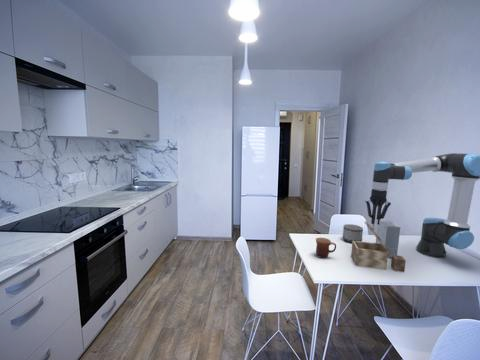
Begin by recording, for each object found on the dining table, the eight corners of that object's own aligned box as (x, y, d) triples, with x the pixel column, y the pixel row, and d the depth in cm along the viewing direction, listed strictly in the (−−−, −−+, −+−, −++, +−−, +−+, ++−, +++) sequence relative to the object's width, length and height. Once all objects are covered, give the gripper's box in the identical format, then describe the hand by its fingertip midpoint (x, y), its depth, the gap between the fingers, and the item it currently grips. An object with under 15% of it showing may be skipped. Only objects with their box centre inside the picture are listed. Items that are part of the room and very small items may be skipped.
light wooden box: (379, 259, 143) (381, 243, 142) (386, 269, 132) (388, 252, 130) (351, 256, 147) (352, 240, 145) (355, 265, 135) (357, 248, 134)
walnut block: (400, 267, 134) (401, 256, 133) (404, 272, 129) (405, 260, 128) (390, 266, 135) (392, 254, 134) (394, 270, 130) (395, 258, 129)
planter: (359, 238, 176) (360, 225, 175) (363, 245, 164) (365, 230, 162) (341, 236, 179) (342, 223, 177) (344, 243, 167) (345, 229, 165)
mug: (313, 257, 144) (314, 241, 143) (315, 251, 152) (316, 236, 151) (334, 261, 139) (336, 245, 138) (335, 255, 147) (336, 239, 146)
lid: (381, 243, 142) (382, 242, 141) (388, 251, 130) (390, 250, 130) (364, 222, 142) (365, 220, 142) (369, 228, 131) (371, 227, 130)
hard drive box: (397, 258, 145) (401, 227, 142) (383, 257, 146) (387, 226, 143) (387, 248, 160) (390, 219, 157) (374, 247, 161) (377, 218, 158)
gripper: (389, 189, 135) (384, 228, 138) (364, 187, 138) (360, 226, 141) (395, 191, 127) (389, 233, 131) (368, 189, 130) (363, 230, 134)
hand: (374, 229), depth 136 cm, fingers closed
